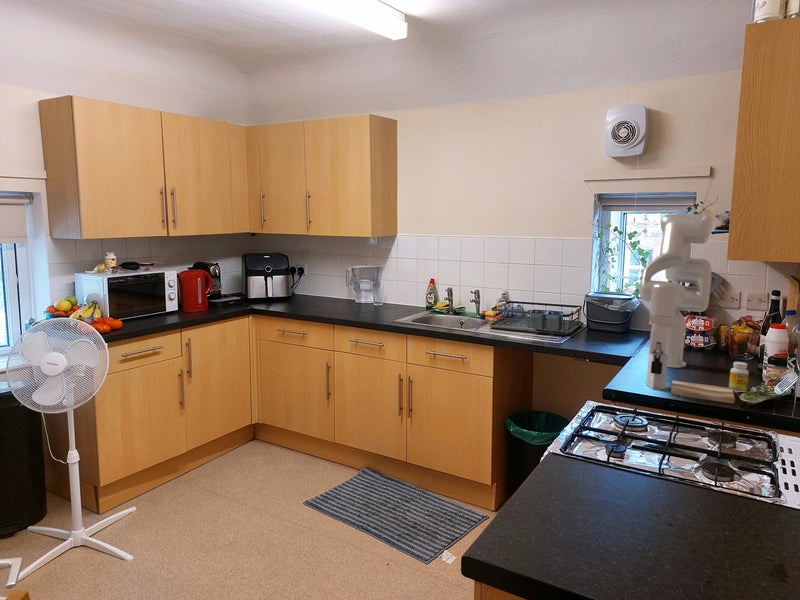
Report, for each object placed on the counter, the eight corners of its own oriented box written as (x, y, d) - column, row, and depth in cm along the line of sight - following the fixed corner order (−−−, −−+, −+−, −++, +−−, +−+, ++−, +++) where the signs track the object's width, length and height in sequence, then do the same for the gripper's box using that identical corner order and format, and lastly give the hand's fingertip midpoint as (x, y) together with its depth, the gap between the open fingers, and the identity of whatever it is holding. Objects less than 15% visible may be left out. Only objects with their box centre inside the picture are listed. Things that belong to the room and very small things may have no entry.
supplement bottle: (739, 388, 201) (742, 361, 200) (750, 393, 196) (753, 365, 194) (724, 388, 200) (727, 361, 199) (735, 393, 195) (738, 364, 194)
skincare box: (665, 390, 196) (668, 354, 194) (652, 389, 196) (655, 354, 194) (657, 385, 202) (661, 350, 200) (645, 384, 202) (648, 350, 200)
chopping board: (671, 384, 203) (672, 380, 203) (731, 392, 195) (731, 388, 195) (670, 394, 190) (671, 390, 190) (734, 403, 183) (734, 399, 182)
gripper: (650, 316, 205) (646, 364, 207) (647, 322, 190) (642, 374, 192) (674, 318, 202) (669, 367, 204) (673, 324, 186) (668, 377, 188)
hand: (656, 370), depth 198 cm, fingers open, 9 cm apart
